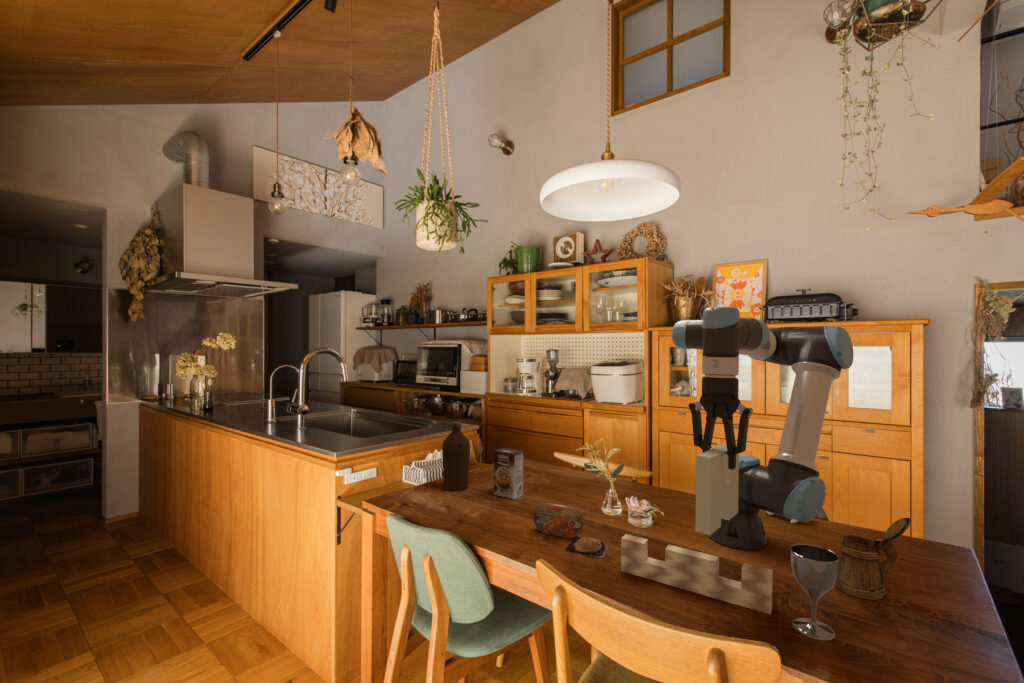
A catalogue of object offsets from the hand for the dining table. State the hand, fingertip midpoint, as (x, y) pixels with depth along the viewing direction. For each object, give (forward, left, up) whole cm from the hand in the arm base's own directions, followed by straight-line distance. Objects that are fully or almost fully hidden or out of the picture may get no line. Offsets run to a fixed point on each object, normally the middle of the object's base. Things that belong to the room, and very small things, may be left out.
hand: (718, 481), depth 104 cm
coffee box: (+34, -73, -25) cm, 84 cm away
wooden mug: (-34, +6, -25) cm, 43 cm away
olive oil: (+52, -85, -25) cm, 102 cm away
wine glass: (-10, +15, -25) cm, 31 cm away
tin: (+26, -37, -25) cm, 51 cm away
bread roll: (+21, -26, -26) cm, 42 cm away
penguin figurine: (-48, -35, -25) cm, 65 cm away
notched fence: (+5, -3, -25) cm, 25 cm away
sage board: (0, 0, -9) cm, 9 cm away
